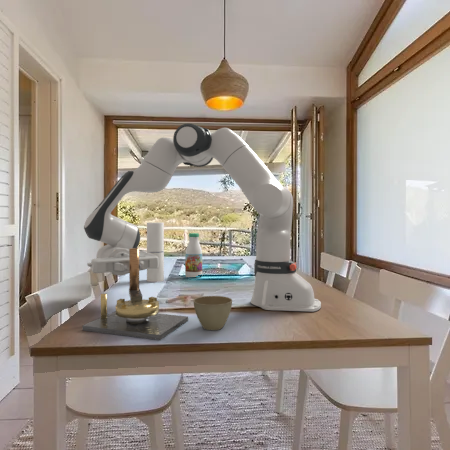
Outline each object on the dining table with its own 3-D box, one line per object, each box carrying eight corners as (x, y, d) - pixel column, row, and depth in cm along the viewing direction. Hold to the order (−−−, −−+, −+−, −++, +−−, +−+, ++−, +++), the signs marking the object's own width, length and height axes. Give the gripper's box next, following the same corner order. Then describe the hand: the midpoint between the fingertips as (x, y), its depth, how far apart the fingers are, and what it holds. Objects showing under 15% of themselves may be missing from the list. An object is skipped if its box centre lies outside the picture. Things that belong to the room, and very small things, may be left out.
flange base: (188, 320, 100) (188, 293, 100) (160, 340, 85) (160, 307, 84) (119, 313, 107) (119, 287, 106) (82, 330, 91) (82, 300, 91)
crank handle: (161, 316, 92) (161, 255, 91) (116, 319, 89) (115, 256, 88) (152, 298, 111) (152, 247, 110) (114, 300, 108) (114, 248, 107)
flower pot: (231, 321, 100) (231, 295, 100) (233, 333, 90) (233, 304, 90) (194, 321, 99) (194, 295, 99) (192, 333, 89) (192, 304, 89)
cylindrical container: (160, 282, 154) (160, 222, 153) (144, 281, 155) (144, 222, 154) (166, 279, 161) (166, 222, 160) (150, 278, 162) (150, 222, 161)
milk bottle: (183, 275, 170) (183, 232, 169) (200, 275, 172) (200, 232, 172) (187, 278, 163) (187, 233, 162) (204, 278, 165) (204, 233, 164)
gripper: (85, 253, 113) (96, 258, 101) (149, 250, 124) (165, 254, 112) (85, 274, 113) (96, 281, 101) (149, 268, 124) (165, 274, 112)
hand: (133, 267), depth 107 cm, fingers open, 4 cm apart
